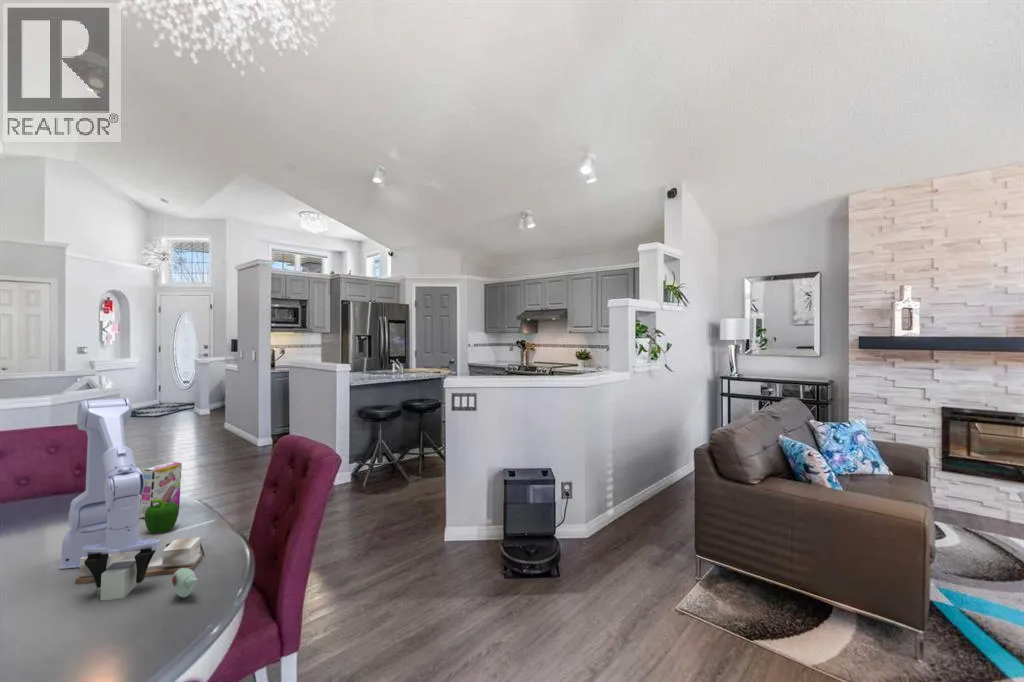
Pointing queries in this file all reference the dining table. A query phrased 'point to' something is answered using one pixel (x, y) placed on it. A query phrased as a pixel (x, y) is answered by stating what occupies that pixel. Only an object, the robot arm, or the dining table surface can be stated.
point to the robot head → (183, 581)
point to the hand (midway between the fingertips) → (120, 583)
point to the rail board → (156, 560)
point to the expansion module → (118, 579)
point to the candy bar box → (160, 485)
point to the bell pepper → (161, 516)
